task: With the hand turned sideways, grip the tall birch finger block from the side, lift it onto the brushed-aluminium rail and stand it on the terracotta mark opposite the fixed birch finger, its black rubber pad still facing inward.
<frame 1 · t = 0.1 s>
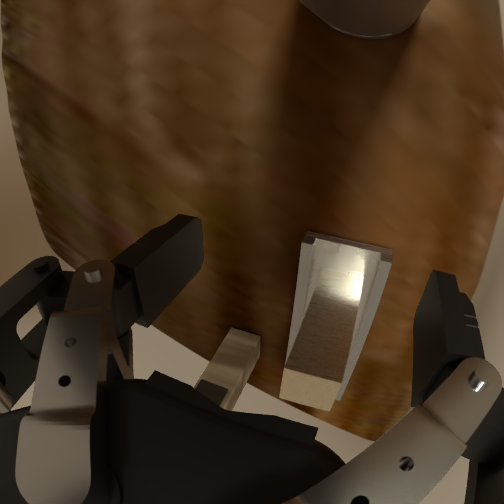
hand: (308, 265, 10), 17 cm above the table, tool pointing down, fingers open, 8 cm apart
rail: (330, 325, 34), on the table
finger block: (245, 341, 41), on the table
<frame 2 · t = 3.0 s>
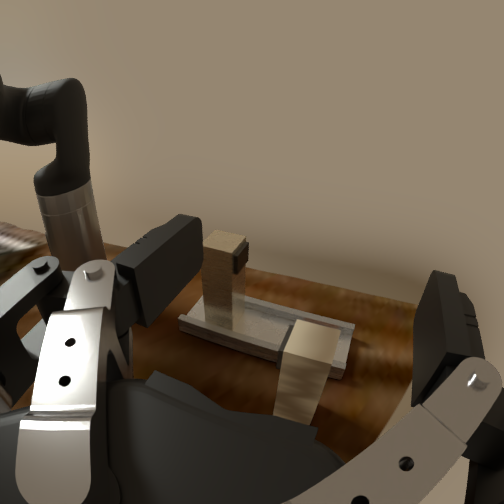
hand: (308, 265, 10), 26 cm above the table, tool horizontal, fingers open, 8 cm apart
rail: (266, 335, 42), on the table
finger block: (295, 411, 32), on the table
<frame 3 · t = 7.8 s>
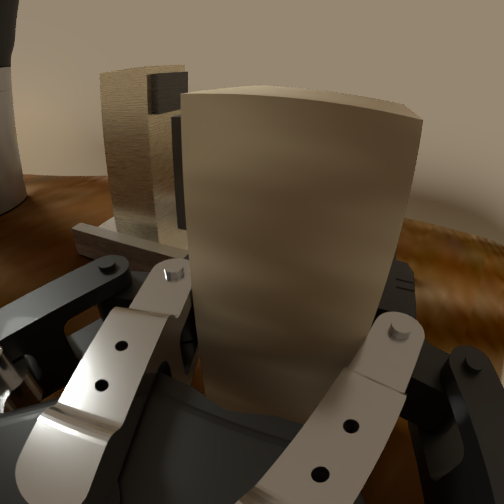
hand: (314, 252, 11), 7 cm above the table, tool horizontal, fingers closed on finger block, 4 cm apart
rail: (225, 260, 22), on the table
finger block: (275, 415, 12), on the table, touching gripper
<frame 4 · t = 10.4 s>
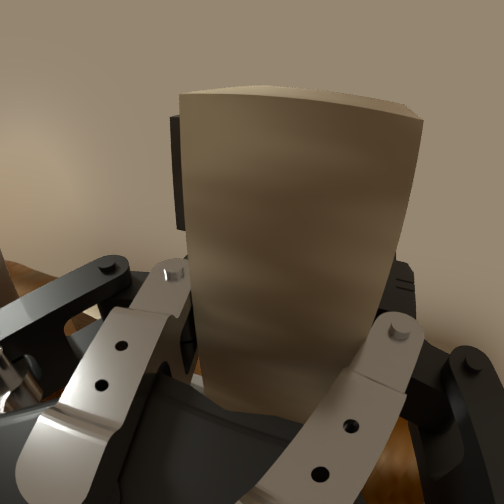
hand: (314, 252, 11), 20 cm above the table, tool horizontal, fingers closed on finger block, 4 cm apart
rail: (202, 430, 24), on the table
finger block: (275, 416, 12), point 13 cm above the table, touching gripper
when the fingers open (8 cm above the table, at t = 13.3 s): finger block stays where it is, resting on rail.
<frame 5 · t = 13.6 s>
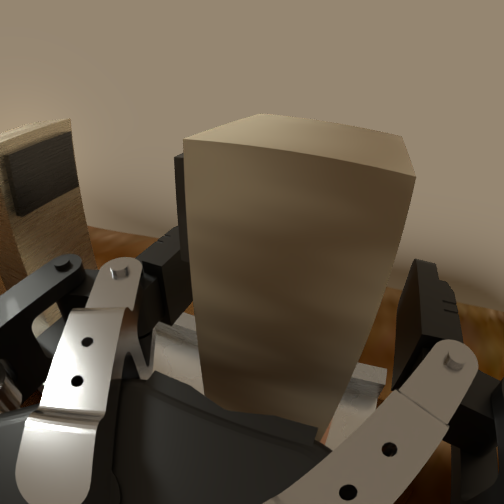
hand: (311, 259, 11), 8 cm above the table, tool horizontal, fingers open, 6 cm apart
rail: (154, 388, 15), on the table
finger block: (272, 424, 13), point 1 cm above the table, touching rail
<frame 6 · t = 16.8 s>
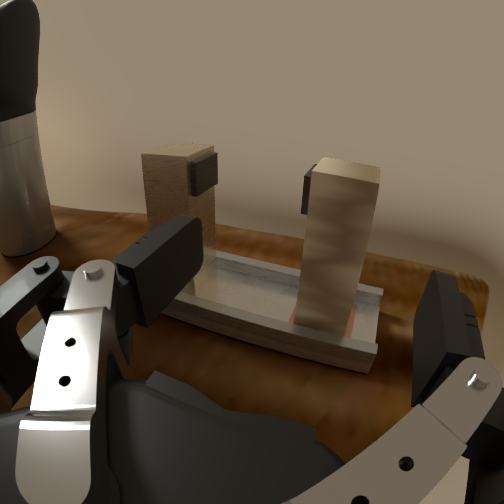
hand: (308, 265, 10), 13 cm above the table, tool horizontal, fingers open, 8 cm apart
rail: (248, 306, 28), on the table
finger block: (323, 315, 25), point 1 cm above the table, touching rail
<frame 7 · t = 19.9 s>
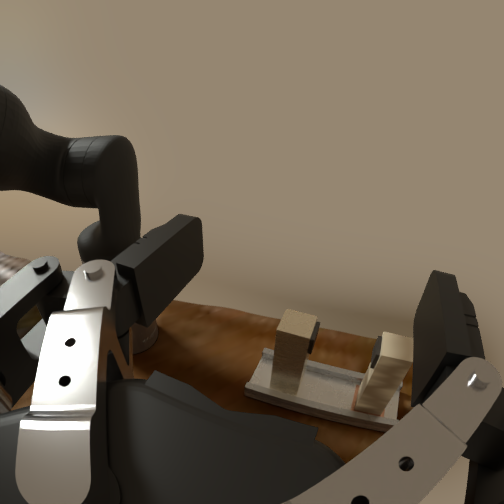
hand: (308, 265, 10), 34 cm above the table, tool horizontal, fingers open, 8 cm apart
rail: (325, 395, 43), on the table
finger block: (369, 401, 40), point 1 cm above the table, touching rail
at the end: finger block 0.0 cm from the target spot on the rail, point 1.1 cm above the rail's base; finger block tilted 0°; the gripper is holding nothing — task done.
